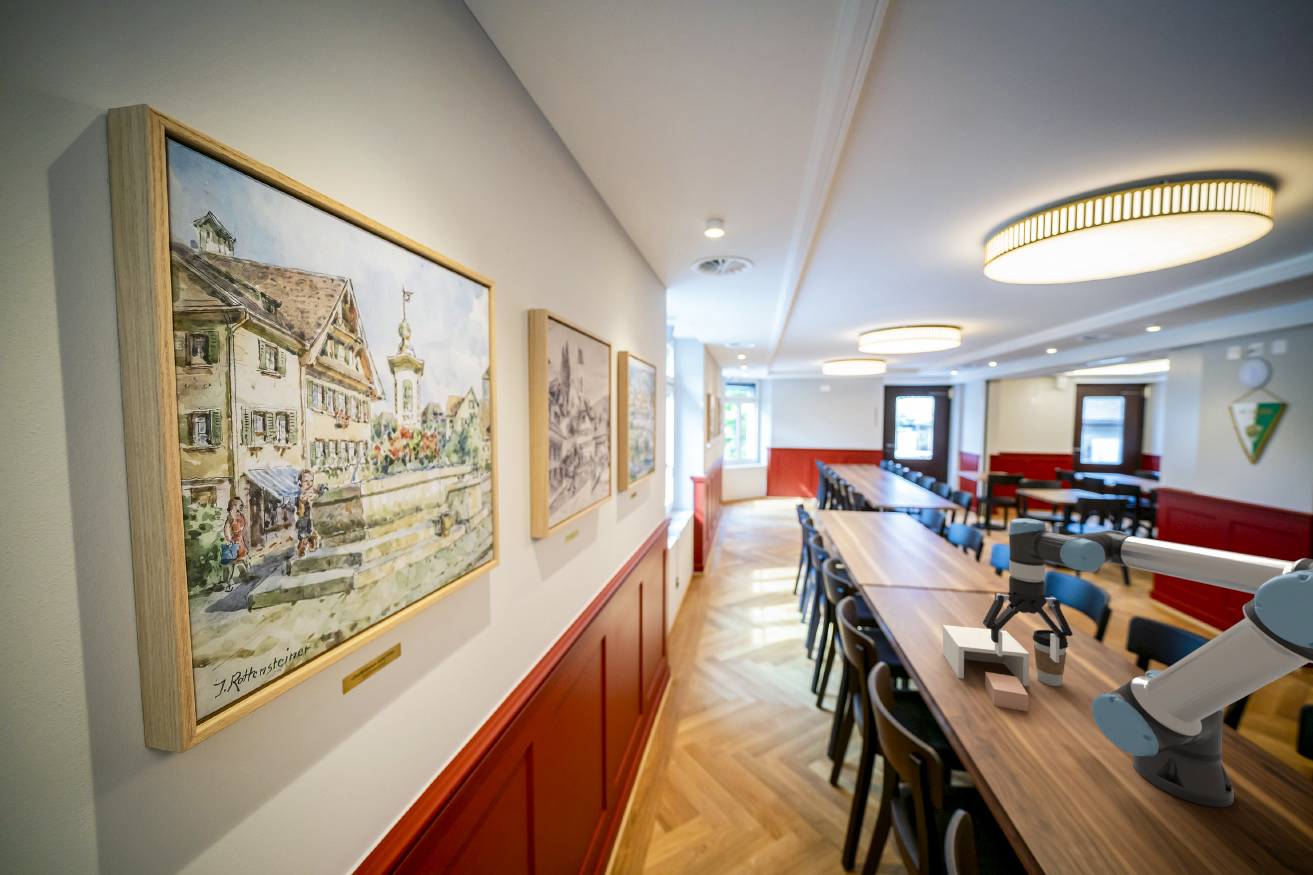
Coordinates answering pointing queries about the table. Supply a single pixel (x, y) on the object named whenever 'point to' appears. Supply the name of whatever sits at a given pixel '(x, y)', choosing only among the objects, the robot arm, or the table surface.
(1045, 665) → the coffee cup
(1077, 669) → the table surface
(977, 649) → the shelf
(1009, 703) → the pink clay brick
